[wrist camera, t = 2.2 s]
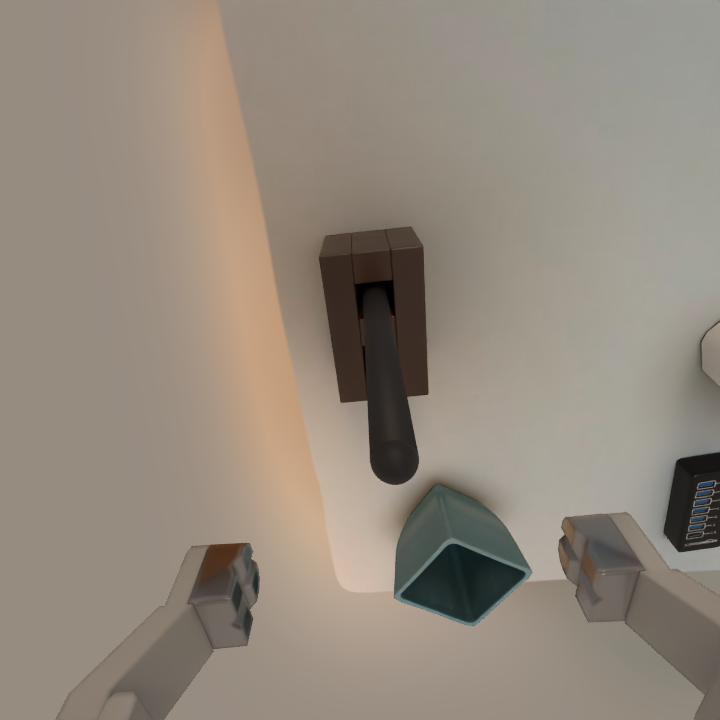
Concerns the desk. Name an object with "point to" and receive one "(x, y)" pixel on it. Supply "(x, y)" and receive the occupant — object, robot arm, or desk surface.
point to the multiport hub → (695, 504)
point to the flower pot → (456, 558)
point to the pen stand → (405, 297)
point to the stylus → (386, 393)
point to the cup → (712, 353)
